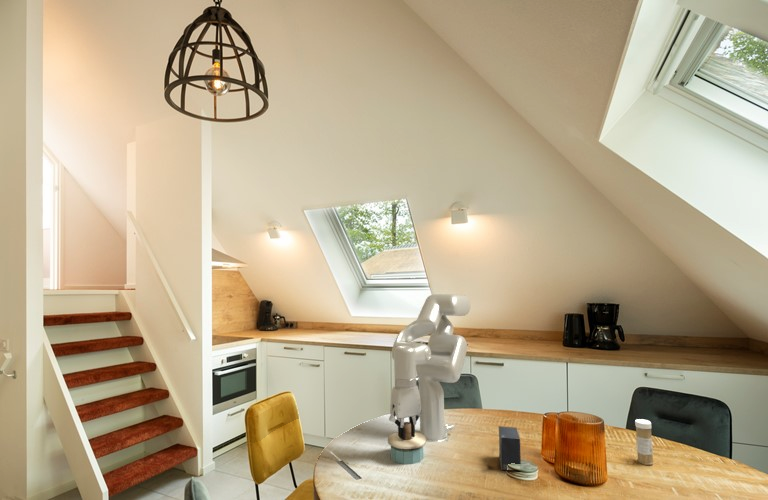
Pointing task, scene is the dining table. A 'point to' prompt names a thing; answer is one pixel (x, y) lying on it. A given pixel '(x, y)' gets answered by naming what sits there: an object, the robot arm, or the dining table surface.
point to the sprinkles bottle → (644, 441)
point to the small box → (509, 446)
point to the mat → (349, 470)
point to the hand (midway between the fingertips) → (406, 436)
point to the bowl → (407, 455)
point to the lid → (407, 439)
